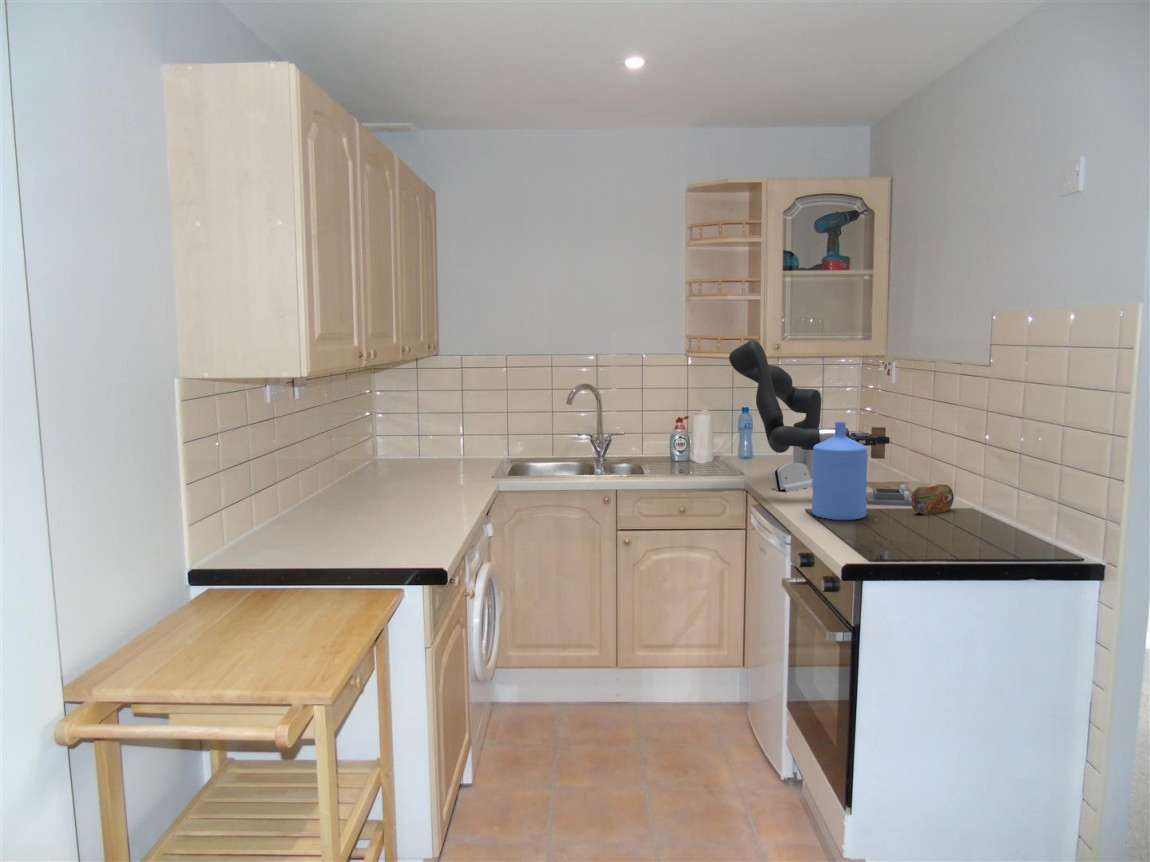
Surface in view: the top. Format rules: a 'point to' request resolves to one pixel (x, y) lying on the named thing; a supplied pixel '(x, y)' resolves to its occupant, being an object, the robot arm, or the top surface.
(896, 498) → the seat board
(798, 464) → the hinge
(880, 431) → the block
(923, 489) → the tin
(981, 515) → the top surface
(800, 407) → the robot arm
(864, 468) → the water jug
